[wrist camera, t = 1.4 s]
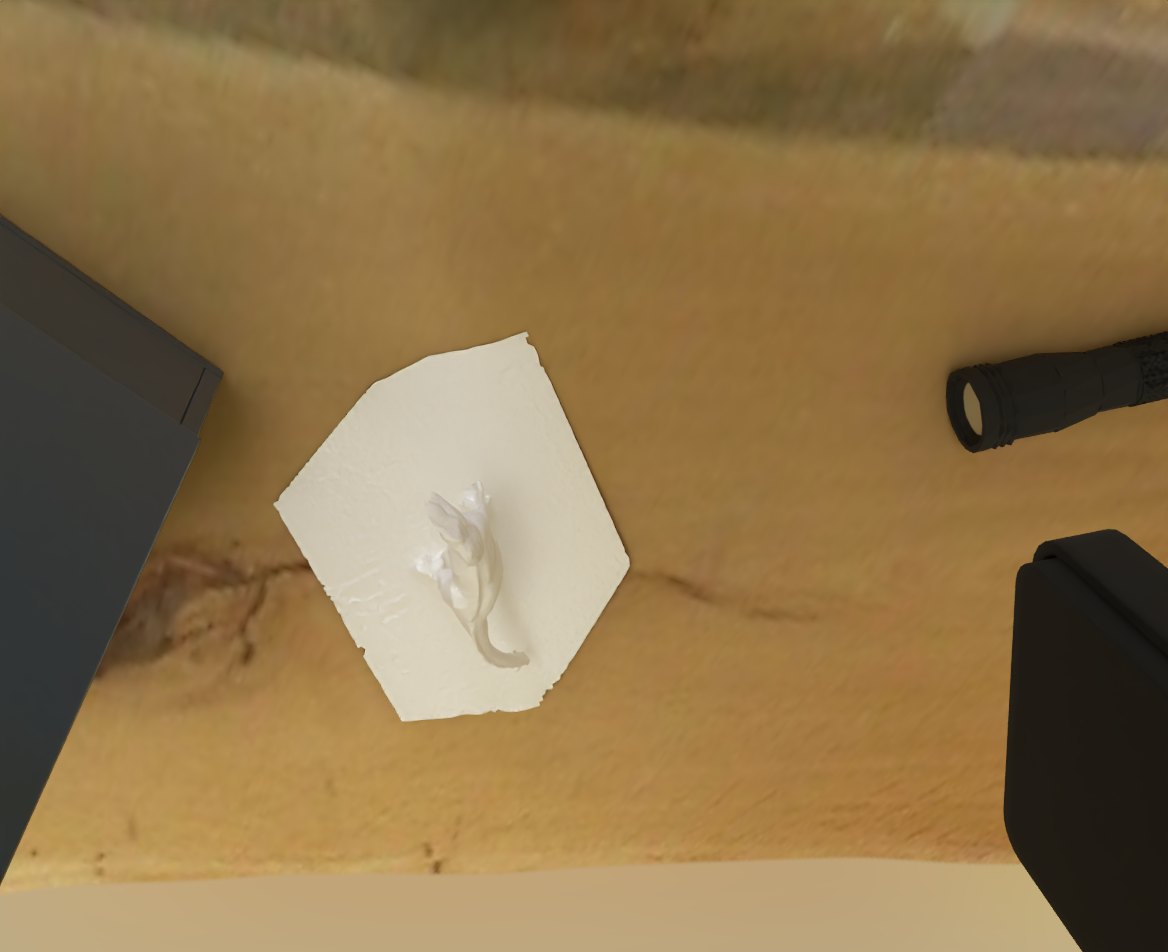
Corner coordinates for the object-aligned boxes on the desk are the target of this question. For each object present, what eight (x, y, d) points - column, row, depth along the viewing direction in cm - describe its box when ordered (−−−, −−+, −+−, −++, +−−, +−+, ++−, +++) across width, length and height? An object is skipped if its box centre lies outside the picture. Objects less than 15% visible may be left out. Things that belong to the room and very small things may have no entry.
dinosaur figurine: (613, 649, 46) (665, 761, 40) (314, 710, 43) (328, 839, 38) (611, 313, 38) (676, 397, 32) (244, 362, 35) (250, 462, 30)
